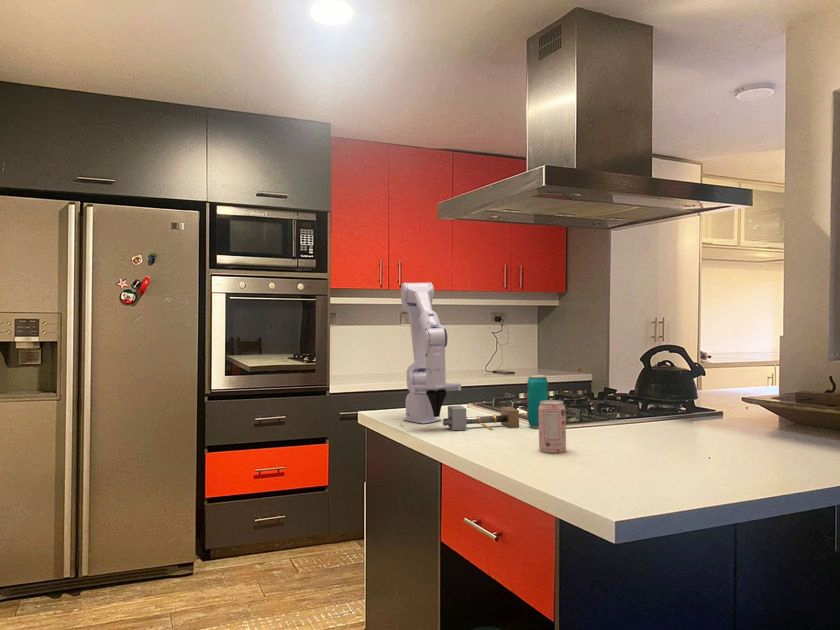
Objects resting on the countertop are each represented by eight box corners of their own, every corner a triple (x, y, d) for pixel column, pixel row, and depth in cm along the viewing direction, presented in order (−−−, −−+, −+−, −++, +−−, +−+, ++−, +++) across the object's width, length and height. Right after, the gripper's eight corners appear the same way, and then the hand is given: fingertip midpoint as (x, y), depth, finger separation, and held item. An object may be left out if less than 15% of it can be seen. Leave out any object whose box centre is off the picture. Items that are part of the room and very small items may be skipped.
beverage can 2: (567, 448, 159) (566, 400, 159) (564, 454, 153) (563, 404, 152) (541, 447, 161) (540, 399, 161) (537, 452, 155) (536, 403, 155)
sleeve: (453, 430, 183) (452, 409, 183) (448, 426, 189) (447, 406, 189) (466, 429, 184) (466, 408, 184) (461, 425, 190) (460, 405, 190)
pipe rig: (447, 432, 181) (447, 415, 181) (440, 426, 190) (440, 410, 190) (520, 428, 185) (520, 410, 185) (510, 422, 194) (509, 406, 194)
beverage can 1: (547, 425, 189) (546, 374, 189) (549, 429, 183) (548, 376, 183) (527, 425, 190) (526, 374, 189) (529, 429, 184) (528, 377, 184)
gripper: (413, 371, 180) (414, 420, 180) (463, 369, 182) (464, 417, 182) (409, 369, 186) (410, 415, 187) (457, 367, 189) (458, 413, 189)
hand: (436, 416), depth 185 cm, fingers closed
